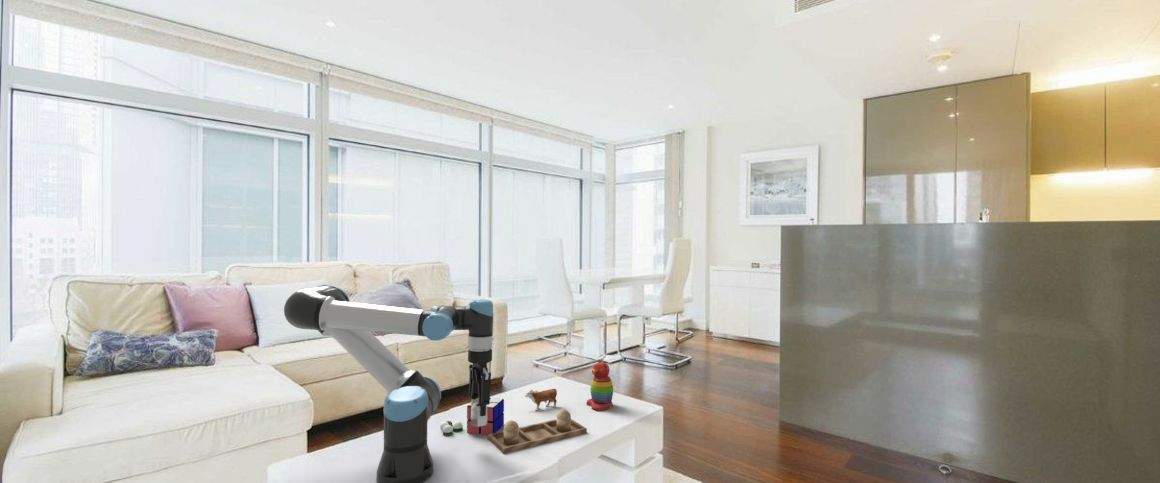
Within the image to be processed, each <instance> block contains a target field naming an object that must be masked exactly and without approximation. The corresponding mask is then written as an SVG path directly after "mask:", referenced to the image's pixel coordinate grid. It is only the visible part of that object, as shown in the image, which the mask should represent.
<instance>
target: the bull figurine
mask: <svg viewBox="0 0 1160 483" xmlns="http://www.w3.org/2000/svg"><path fill="white" fill-rule="evenodd" d="M557 392H558V391H557V389H556V388H551V389H547V390H537V389H536V390H535V389H534V390H533V389H529V390H528V391H527V392H526V394H525V398H529V399H530V400H531V401H532V402H533V403H534V404H535V405H536V408H535V411H536V412H538V411H539V410H540V409H539V408H540V405H541V403H542V402H543V403H545V407H547V408H548V407H549V406H550V404H552V403H553V406H552V408H554V409H555V408H556V407H557V395H558V394H557Z"/></svg>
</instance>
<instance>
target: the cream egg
mask: <svg viewBox="0 0 1160 483" xmlns="http://www.w3.org/2000/svg"><path fill="white" fill-rule="evenodd" d="M476 404H479V401H477V402H475V403H474V404H473V405H472V408H471V425H472V426H476V427H477V405H476ZM486 424H487V407H486ZM479 427H480V426H479Z"/></svg>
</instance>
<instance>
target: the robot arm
mask: <svg viewBox="0 0 1160 483" xmlns="http://www.w3.org/2000/svg"><path fill="white" fill-rule="evenodd" d="M468 303H469V304H468V305H466V306H465V305H464V306H461V305H457V306H456V305H434V306H432V307H431V308H430V309H419V308H411V307H402V306H399V307H398V306H392V305H391V306H389V305H383V304H382V305H380V304H379V305H378V304H370V303H364V302H363V303H361V302H351V301H350V298H349V295H348V294H347V292H346V291H345V290H343V289H342V288H340V287H339V286H335V285H330V284H329V285H328V284H327V285H326V284H323V285H322V284H321V285H317V286H315V287H310V288H303V289H300V290H297V291H295V292H294V293H292V294H291V295H290V296H289V297H288V298H287V299H286V301H285V303H284V306H283V307H284V308H283V313H284V317H285V319H286V321H287V322H288V323H289V324H290V325H291V326H293V327H295V328H297V329H300V330H313V331H318V332H319V333H320V334H321V336H323V337H332V339H334V340H335V341H336V342H337V343H338V344H339V345H340V346H341V347H342V348H343V349H344V350H345V351H346V352H347V354H349V355H350V356H351V357H352V358H353V359H354V360H355V361H356V362H357V363H358V364H359V365H360V366H361V367H362V368H363V369H364V370H365V371H367V372H368V373H369V374H370V376H372V377H373V379H374V380H376V381H377V382H378V383H379V384H380V386H382V387H383V388H384V389H385V391H386V397H385V398H384V403H383V410H382V411H383V451H382V453H381V454H382V455H381V457H380V460H379V463H378V466H377V469H376V482H377V483H423V482H424V481H427V480H428V479H429V478H430V477H431V476H432V475H433V473H434V460H433V457H432V455H431V452H430V449H429V446H428V422H429V420H430V419H431V417H432V415H434V413H435V412H436V411H437V410H438V407H439V405H440V401H441V399H442V392H441V388H440V386H439V384H438V382H437V381H435V379H433V378H431V377H428V376H423V375H422V373H420V372H419V370H417V369H409V368H408V367H407V366H406V365H405V363H403V362H402V361H401V360H400V359H399V358H398V357H397V356H396V355H395V354H394V353H393V352H392V351H391V350H390V349H388V348H387V346H386V345H384V343H383V342H381V341H380V340H379V338H377V336H375V334H373V332H375V333H386V334H394V335H395V334H397V335H404V336H405V335H406V336H407V335H409V336H417V337H423V338H424V337H426V338H427V339H429V340H431V341H434V342H435V341H440V340H441V341H442V340H444V339H446V338H447V337H448V336H449V335H450V334H451V333H452V332H453V331H468V334H467V335H468V336H467V348H468V351H467V362H468V363H470V364H469V366H468V368H469V369H468V370H469V374H468V376H469V379H468V396H470V399H471V402H470V403H471V408H472V405H473V404H474V403H475V402H477V401H479V404H476V405H477V427H479V426H484V425H486V407H487V405H488V404H490V398H491V378H492V373H491V372H489V370H488V369H489V368H488V363H491V362H492V360H493V350H492V348H493V341H494V339H495V337H493V334H494V333H493V332H494V303H493V301H492V300H489V299H472V300H470V301H469V302H468Z"/></svg>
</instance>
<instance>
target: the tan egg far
mask: <svg viewBox="0 0 1160 483" xmlns="http://www.w3.org/2000/svg"><path fill="white" fill-rule="evenodd" d="M556 419H557V431H558V432H562V433H565V432H569V431H570V430H571V419H572V416H571V413H570V411H569V410H568V409H565V408H563V409H561V410H559V411H557V414H556Z"/></svg>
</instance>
